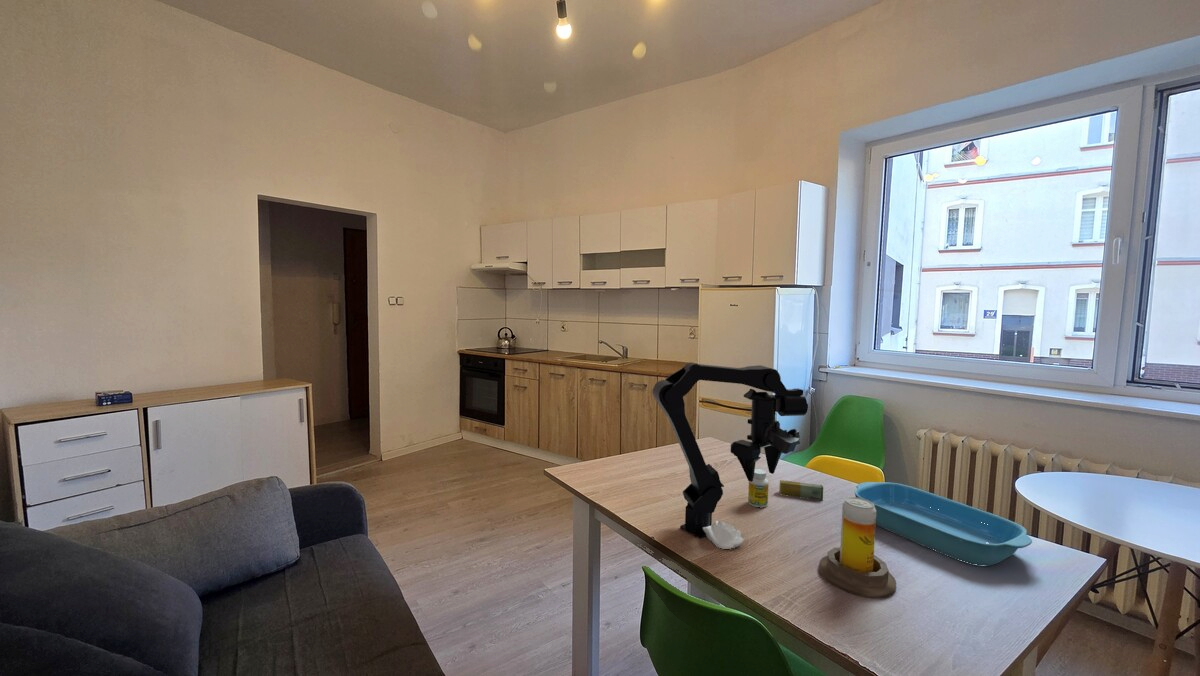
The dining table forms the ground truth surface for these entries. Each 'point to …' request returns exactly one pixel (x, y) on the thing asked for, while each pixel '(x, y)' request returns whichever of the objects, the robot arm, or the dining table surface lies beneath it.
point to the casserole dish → (943, 523)
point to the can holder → (858, 577)
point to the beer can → (858, 534)
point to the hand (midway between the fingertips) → (761, 477)
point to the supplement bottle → (758, 489)
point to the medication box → (801, 490)
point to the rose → (723, 535)
